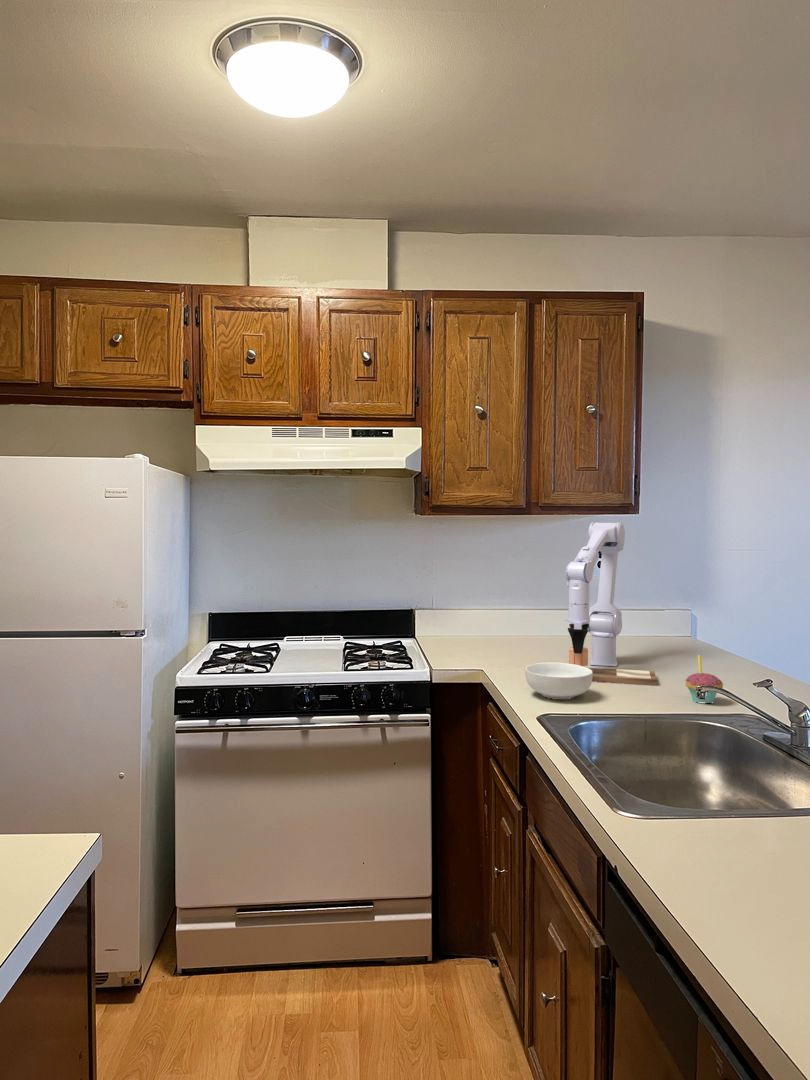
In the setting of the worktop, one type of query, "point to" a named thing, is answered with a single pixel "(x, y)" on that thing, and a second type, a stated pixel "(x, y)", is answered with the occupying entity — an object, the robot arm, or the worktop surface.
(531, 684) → the cereal bowl
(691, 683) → the cupcake
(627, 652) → the worktop surface
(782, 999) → the worktop surface
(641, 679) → the board
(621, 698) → the worktop surface
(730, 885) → the worktop surface
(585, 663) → the cap
